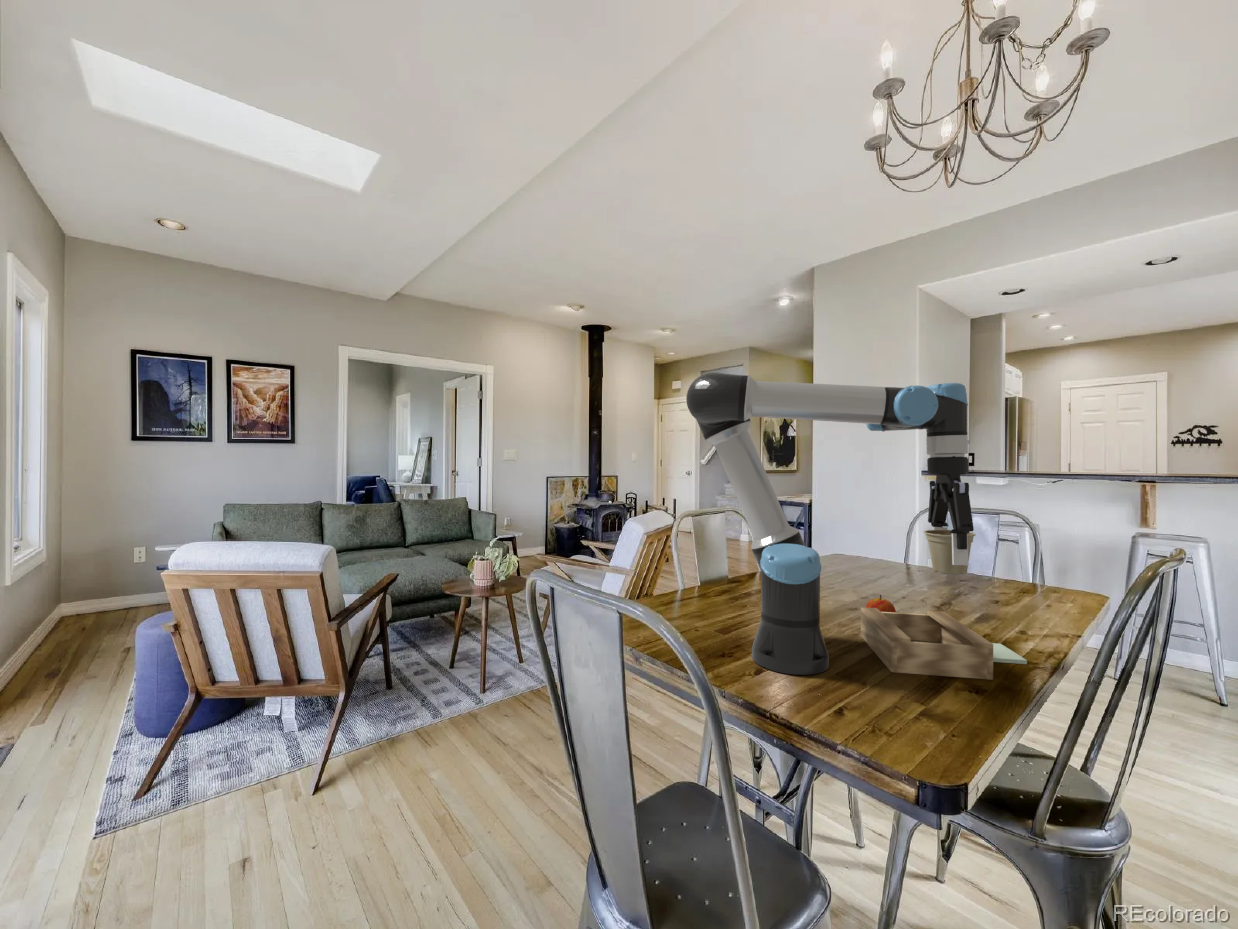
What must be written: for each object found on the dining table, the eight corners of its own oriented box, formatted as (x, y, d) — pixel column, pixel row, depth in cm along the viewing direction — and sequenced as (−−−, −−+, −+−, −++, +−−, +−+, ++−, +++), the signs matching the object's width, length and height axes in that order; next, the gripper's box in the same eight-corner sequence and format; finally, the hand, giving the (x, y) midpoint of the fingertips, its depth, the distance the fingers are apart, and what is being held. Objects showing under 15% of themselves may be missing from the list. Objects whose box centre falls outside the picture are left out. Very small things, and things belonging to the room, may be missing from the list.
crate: (891, 672, 103) (891, 637, 103) (860, 635, 124) (860, 607, 124) (992, 679, 99) (993, 644, 99) (943, 641, 121) (943, 611, 121)
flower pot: (985, 577, 106) (984, 535, 106) (933, 576, 108) (932, 535, 108) (965, 568, 115) (964, 529, 115) (918, 567, 117) (917, 529, 117)
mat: (973, 660, 109) (973, 656, 109) (951, 644, 119) (951, 640, 119) (1026, 664, 107) (1026, 660, 107) (1000, 647, 117) (1000, 643, 117)
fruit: (868, 620, 137) (868, 589, 137) (897, 625, 133) (898, 594, 133) (862, 627, 131) (862, 595, 131) (893, 632, 127) (893, 599, 127)
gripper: (992, 454, 100) (995, 571, 100) (945, 456, 122) (947, 552, 122) (949, 455, 102) (952, 570, 102) (910, 457, 123) (912, 551, 123)
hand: (950, 560), depth 112 cm, fingers closed on flower pot, 9 cm apart
